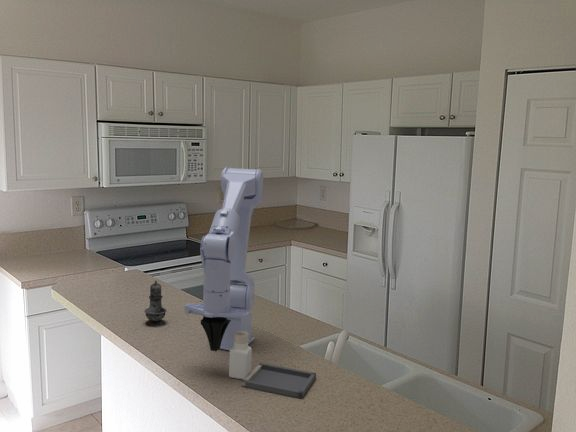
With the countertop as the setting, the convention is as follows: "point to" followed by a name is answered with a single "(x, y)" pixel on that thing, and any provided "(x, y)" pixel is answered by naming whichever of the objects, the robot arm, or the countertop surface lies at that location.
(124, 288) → the countertop surface
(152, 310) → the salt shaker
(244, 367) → the pepper shaker
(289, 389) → the tray
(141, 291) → the countertop surface
